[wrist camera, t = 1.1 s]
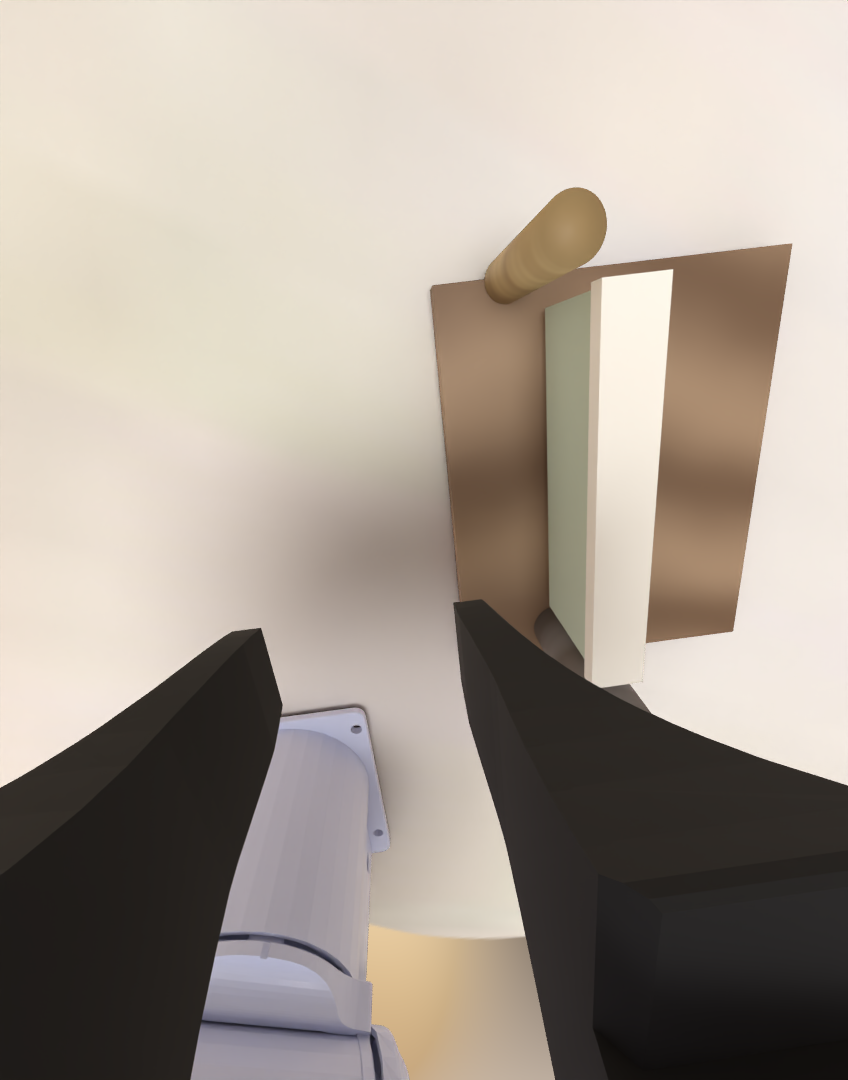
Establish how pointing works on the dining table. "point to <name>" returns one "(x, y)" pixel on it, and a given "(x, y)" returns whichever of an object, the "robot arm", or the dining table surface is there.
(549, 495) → the gate leaf
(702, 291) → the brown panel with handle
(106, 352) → the dining table surface
